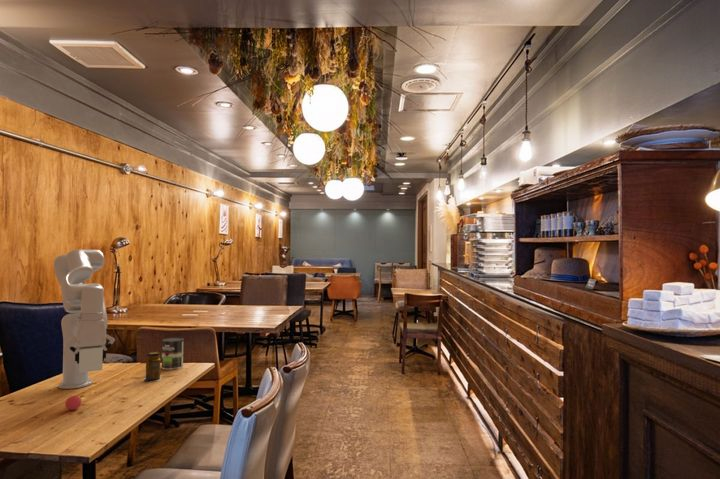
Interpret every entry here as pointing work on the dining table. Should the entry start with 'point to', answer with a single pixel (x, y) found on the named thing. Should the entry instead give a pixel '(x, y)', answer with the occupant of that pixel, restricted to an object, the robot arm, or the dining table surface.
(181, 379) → the dining table surface
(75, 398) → the ball
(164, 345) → the coffee can
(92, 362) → the matte cream cube
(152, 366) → the condiment
